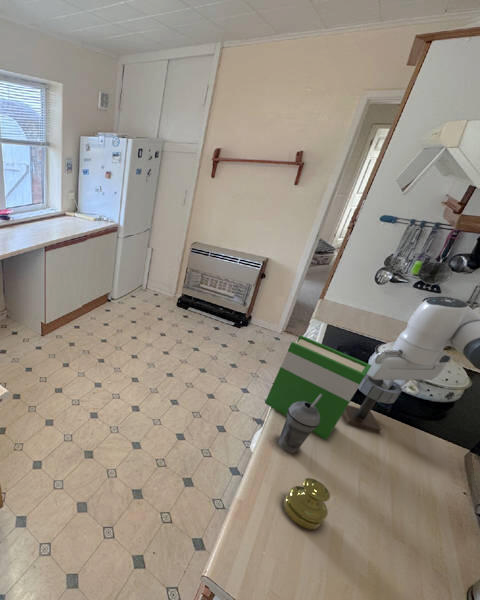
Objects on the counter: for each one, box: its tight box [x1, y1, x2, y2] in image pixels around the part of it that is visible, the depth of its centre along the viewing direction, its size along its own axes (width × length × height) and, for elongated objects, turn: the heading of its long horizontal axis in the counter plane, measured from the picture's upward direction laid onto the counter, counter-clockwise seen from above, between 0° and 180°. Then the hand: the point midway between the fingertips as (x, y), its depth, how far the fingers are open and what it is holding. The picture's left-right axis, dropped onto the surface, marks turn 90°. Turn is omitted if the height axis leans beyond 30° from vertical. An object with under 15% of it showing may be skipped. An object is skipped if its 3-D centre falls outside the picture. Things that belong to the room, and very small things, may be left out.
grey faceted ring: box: [357, 374, 403, 404], centre depth 96 cm, size 9×9×4 cm
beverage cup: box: [278, 394, 322, 454], centre depth 86 cm, size 7×7×20 cm
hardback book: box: [264, 334, 372, 440], centre depth 96 cm, size 18×7×24 cm, turn 39°
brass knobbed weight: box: [283, 477, 331, 530], centre depth 72 cm, size 7×7×10 cm
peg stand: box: [342, 396, 381, 434], centre depth 99 cm, size 8×8×11 cm
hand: (389, 388), depth 96 cm, fingers closed on grey faceted ring
